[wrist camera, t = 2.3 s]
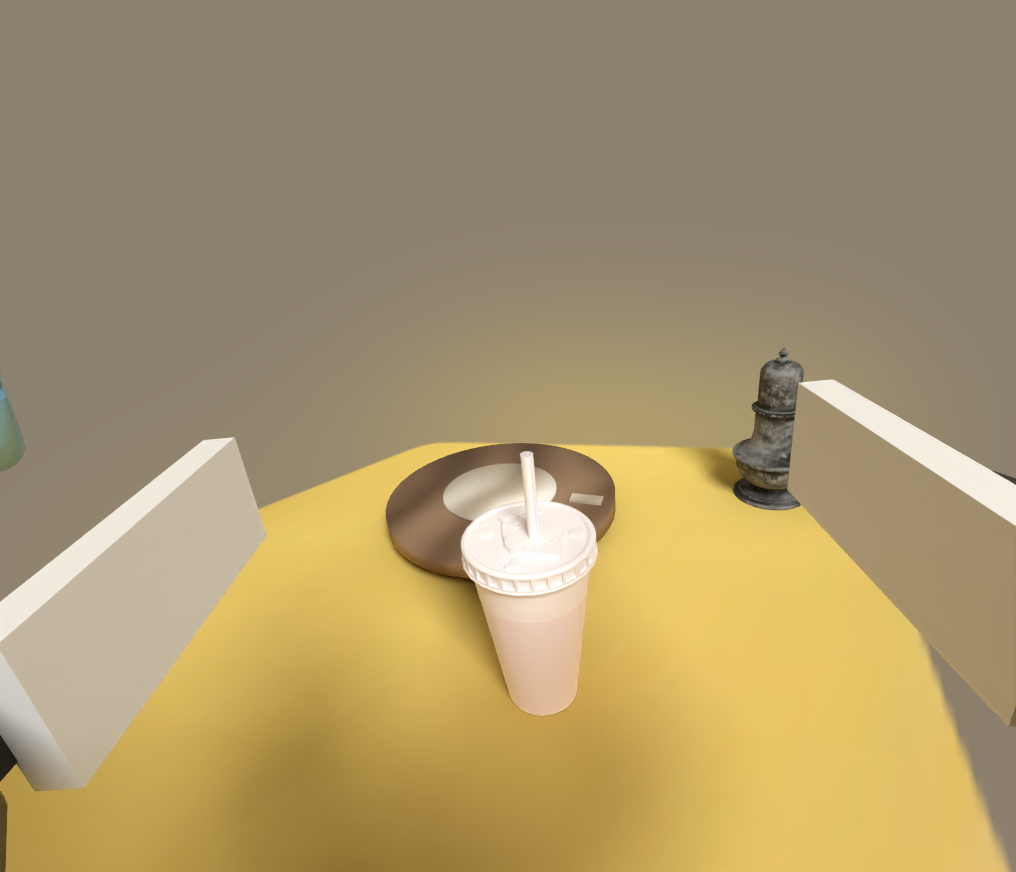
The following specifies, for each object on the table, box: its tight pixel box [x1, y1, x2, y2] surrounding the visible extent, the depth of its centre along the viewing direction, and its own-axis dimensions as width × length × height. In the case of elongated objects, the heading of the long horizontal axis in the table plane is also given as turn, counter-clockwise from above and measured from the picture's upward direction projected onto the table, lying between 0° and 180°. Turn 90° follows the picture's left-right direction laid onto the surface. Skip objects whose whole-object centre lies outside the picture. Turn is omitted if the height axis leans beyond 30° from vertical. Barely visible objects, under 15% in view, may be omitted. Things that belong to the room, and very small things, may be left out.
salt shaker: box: [733, 348, 804, 510], centre depth 42 cm, size 6×6×12 cm
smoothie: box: [461, 451, 598, 716], centre depth 27 cm, size 6×6×14 cm
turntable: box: [386, 443, 615, 579], centre depth 44 cm, size 18×18×2 cm
